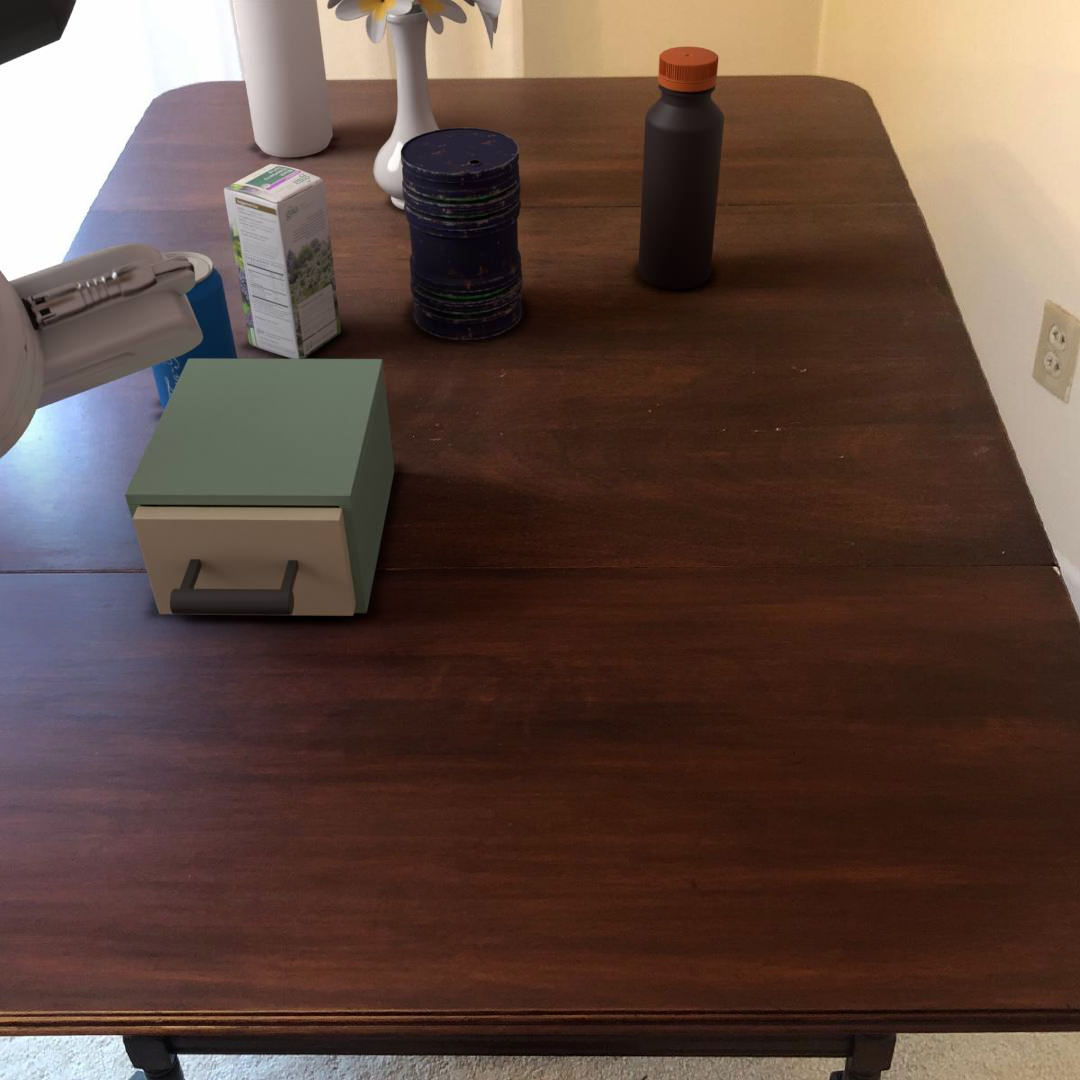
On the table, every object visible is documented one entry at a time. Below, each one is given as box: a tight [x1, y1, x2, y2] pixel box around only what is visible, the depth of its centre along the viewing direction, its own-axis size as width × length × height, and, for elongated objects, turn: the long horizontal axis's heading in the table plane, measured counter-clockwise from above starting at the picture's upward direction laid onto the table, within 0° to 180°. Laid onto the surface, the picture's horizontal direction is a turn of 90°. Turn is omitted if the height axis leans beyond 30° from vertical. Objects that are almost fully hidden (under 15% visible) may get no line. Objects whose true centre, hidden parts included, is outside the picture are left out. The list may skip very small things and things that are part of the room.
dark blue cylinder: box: [401, 127, 524, 341], centre depth 104 cm, size 10×10×15 cm
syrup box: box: [223, 163, 342, 359], centre depth 101 cm, size 6×6×14 cm
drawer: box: [132, 505, 356, 617], centre depth 79 cm, size 19×12×8 cm, turn 179°
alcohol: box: [231, 0, 334, 158], centre depth 130 cm, size 9×9×30 cm
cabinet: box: [124, 358, 395, 614], centre depth 82 cm, size 16×14×10 cm
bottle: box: [637, 45, 725, 291], centre depth 108 cm, size 7×7×20 cm
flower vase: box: [326, 0, 502, 211], centre depth 120 cm, size 13×18×25 cm
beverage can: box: [151, 251, 238, 411], centre depth 94 cm, size 6×6×12 cm
